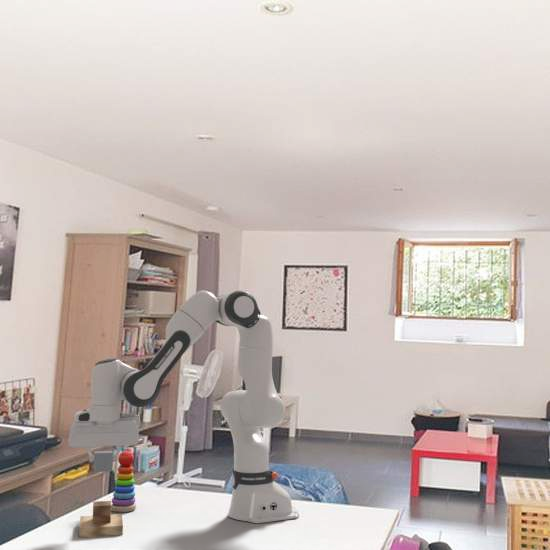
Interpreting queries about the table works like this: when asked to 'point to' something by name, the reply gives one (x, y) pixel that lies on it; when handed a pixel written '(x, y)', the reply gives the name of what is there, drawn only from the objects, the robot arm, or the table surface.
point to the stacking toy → (124, 485)
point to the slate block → (103, 461)
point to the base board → (100, 526)
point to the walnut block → (101, 512)
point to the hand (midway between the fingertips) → (103, 461)
